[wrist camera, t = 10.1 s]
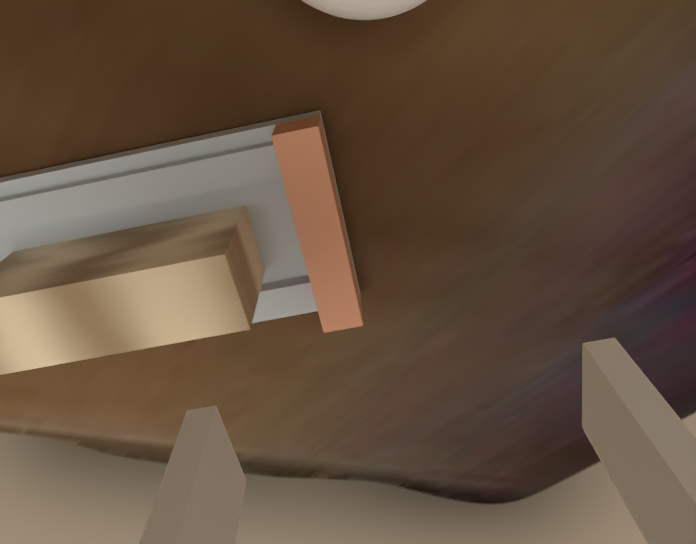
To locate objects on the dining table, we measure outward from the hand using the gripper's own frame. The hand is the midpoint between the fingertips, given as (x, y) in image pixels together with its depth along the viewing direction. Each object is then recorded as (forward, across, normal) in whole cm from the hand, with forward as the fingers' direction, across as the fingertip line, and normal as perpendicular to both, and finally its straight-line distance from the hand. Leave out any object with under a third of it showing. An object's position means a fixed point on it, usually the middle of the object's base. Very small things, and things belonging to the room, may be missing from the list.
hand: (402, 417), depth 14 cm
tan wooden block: (+14, -12, 0) cm, 19 cm away
